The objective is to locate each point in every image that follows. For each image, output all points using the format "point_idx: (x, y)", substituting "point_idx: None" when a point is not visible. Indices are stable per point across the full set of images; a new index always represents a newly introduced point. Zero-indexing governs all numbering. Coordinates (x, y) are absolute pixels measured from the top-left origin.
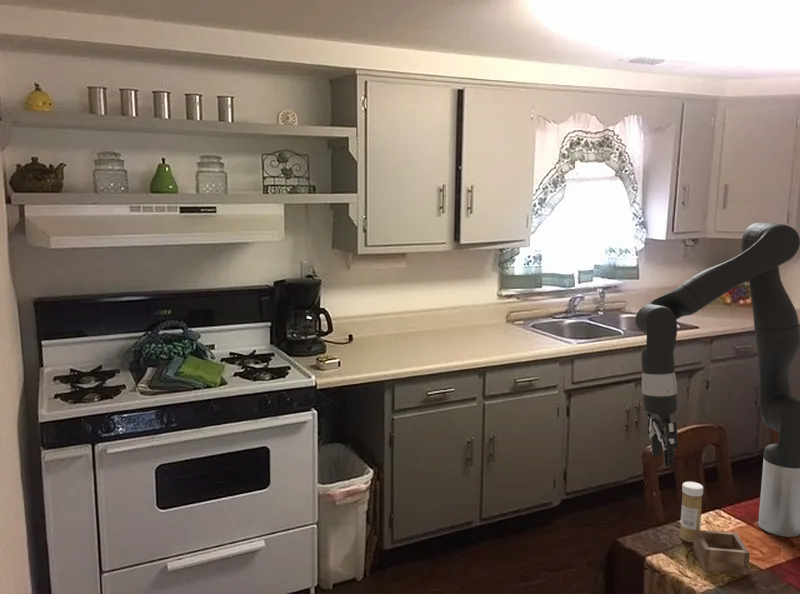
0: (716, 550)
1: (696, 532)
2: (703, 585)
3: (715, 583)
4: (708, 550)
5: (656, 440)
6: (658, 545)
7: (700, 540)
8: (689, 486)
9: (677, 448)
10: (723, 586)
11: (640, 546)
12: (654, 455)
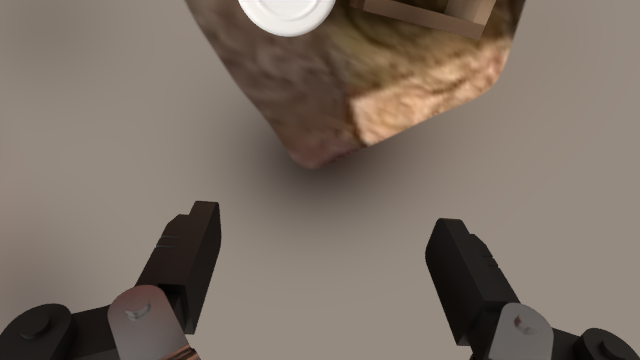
0: (493, 5)
1: (381, 13)
2: (498, 63)
3: (500, 29)
4: (481, 29)
5: (189, 310)
6: (317, 94)
7: (430, 27)
8: (308, 12)
9: (616, 342)
10: (517, 15)
11: (319, 139)
12: (220, 236)
